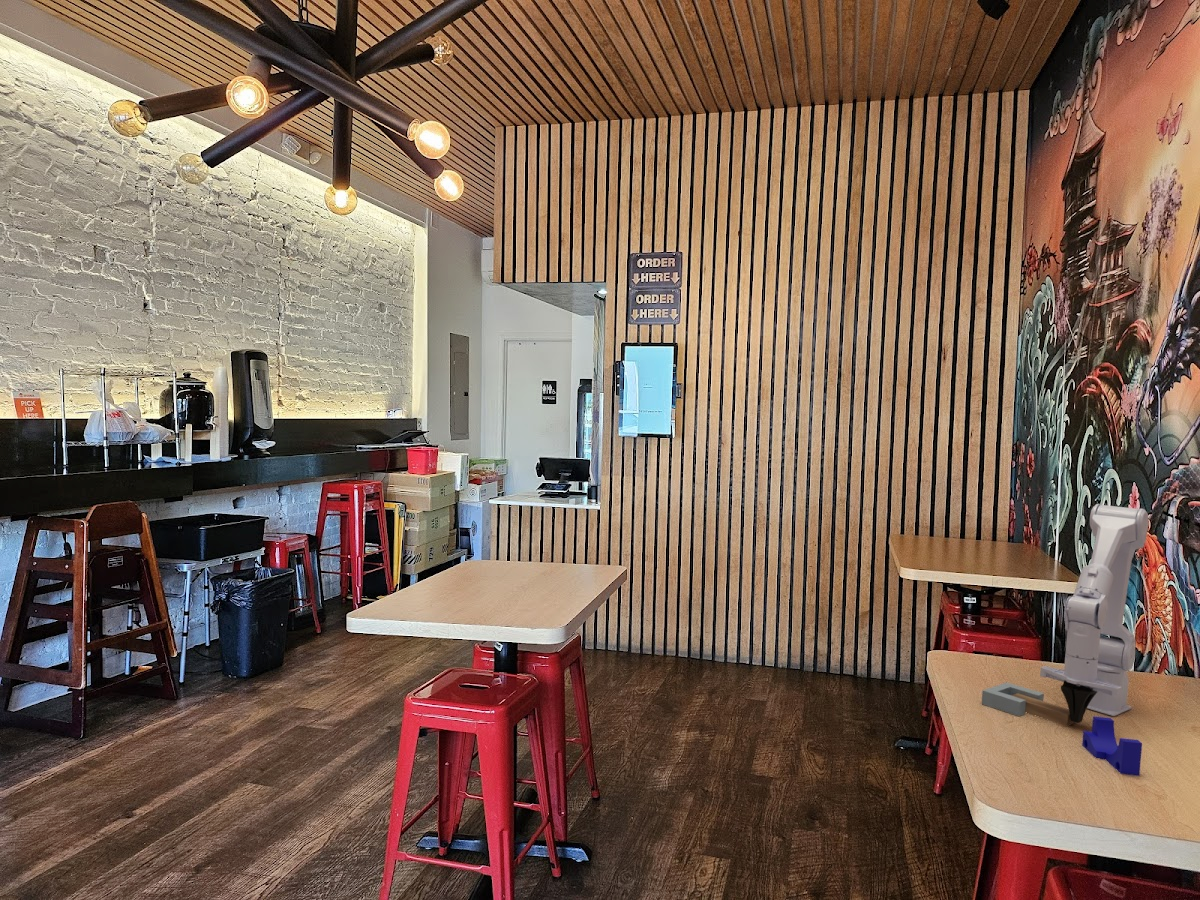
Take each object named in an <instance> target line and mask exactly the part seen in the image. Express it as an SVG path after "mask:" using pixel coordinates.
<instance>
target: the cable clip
mask: <svg viewBox="0 0 1200 900" xmlns="http://www.w3.org/2000/svg"><path fill="white" fill-rule="evenodd" d="M1091 724H1092V726H1091V731H1087V730H1082V731H1083V733H1082V741H1081V742H1082V743H1081V746H1082V747H1083V748H1084V749H1085V750H1086V751H1088V753H1090V754H1091V756H1093V757H1094V758H1095V757H1096V758H1100V759H1099V760H1105V759H1106V760H1107V761H1108V762H1109V765H1111V766H1112V767H1113V768H1114V769H1115V770H1116V769H1117V770H1118V771H1117V770H1116V771H1117V772H1118V773H1119V772H1120V773H1119V774H1121V775H1129V776H1138V777H1139V776H1140V772H1141V760H1142V759H1141V758H1142V749H1143V748H1142V747H1143V742H1141V741H1140V740H1139V739H1134V738H1133V739H1131V738H1124V737H1123V738H1122V737H1119V739H1118V743H1117V740H1116V737H1115V727H1114V725H1115V721H1114V720H1113V718H1112V717H1104V716H1096V715H1095V716H1094V715H1093V717H1092V723H1091ZM1096 758H1095V759H1096ZM1106 760H1105V761H1106ZM1107 761H1106V762H1107Z"/></svg>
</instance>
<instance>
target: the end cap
mask: <svg viewBox="0 0 1200 900" xmlns="http://www.w3.org/2000/svg"><path fill="white" fill-rule="evenodd" d="M1017 693H1018V694H1022V695H1025V696H1028V697H1031V698H1034V699H1038V700H1041V701H1044V696H1045V693H1043V692H1040V691H1037V690H1034V689H1030V688H1027V687H1024V686H1021V685H1018V684H1017V685H1016V684H1013V683H1010V682H1003V683H1001V684H998V685H995V686H992V687H988V688H986V689H982V691H981V705H983V706H985V707H989V708H993V709H995V708H996V709H995V710H998V709H999V711H1001V710H1002V711H1001V712H1004V711H1005V712H1004V713H1007V714H1010V713H1011V715H1014V716H1016V715H1017V716H1016V717H1022V716H1023V714H1024V715H1025V714H1026V713H1025V706H1026V700H1024V699H1021V698H1017V697H1014V696H1011V695H1014V694H1017ZM1021 715H1022V716H1021Z"/></svg>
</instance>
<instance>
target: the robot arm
mask: <svg viewBox="0 0 1200 900" xmlns="http://www.w3.org/2000/svg"><path fill="white" fill-rule="evenodd" d="M1089 526H1090V529H1091V533H1092V536H1093V537H1094V538H1095V540H1094V544H1093V545H1094V546H1093V549H1092V554H1091V559H1090V564H1088V565H1085V566H1083V567H1082V569H1081V571H1080V574H1079V578H1078V581H1077V584H1076V586H1075V588H1074V589H1075V590H1074V592H1073V595H1072V596H1070V595H1069V596H1068V597H1067V599H1066V601H1065V605H1064V614H1063V615H1064V620H1065V626H1064V629H1065V631H1066V641H1065V642H1066V643H1065V653H1064V654H1065V657H1064V668H1063V669H1060V668H1055V667H1051V666H1046V665H1044V666H1041V667H1040V673H1039V676H1040V677H1042V678H1045V679H1046V678H1049V679H1052V680H1055V681H1058V682H1059V681H1060V682H1063V684H1062V685H1060V690H1061V692H1062V695H1063V696H1064V699H1065V701H1066V705H1067V709H1069V712H1070V718H1071V721H1072V722H1075V723H1074V724H1080V723H1081V722H1083V719H1084V715H1085V713H1086V711H1087V709H1088V710H1092V711H1094V712H1098V713H1102V714H1103V715H1107V716H1108V715H1109V716H1112V717H1115V716H1118V715H1121V714H1123V713H1125V712H1126V711H1129V710H1131V709H1132V706H1131V705H1128V692H1129V675H1128V673H1127V672H1129V671H1130V670H1131V669H1132V668H1133V666H1134V664H1135V659H1136V636H1134V634H1133V633H1132V631H1130V630H1129V629H1128V628H1127V627H1126V626H1124V625H1123V623H1124V622H1123V621H1124V616H1125V615H1124V614H1125V608H1126V601H1127V596H1128V595H1127V594H1128V587H1129V581H1130V574H1131V568H1132V560H1133V558H1134V557H1133V556H1134V554H1135V551H1136V550H1139V549H1142V548H1143V549H1144V547H1145V543H1146V542H1147V534H1148V529H1149V514H1148V512H1147V511H1146V509H1145V508H1133V507H1123V506H1116V505H1115V506H1114V505H1106V504H1102V503H1101V504H1100V503H1096V504H1095V505H1094V506H1092V508H1091V510H1090V515H1089ZM1103 635H1106V636H1103ZM1107 636H1111V637H1115V638H1111V637H1107ZM1117 638H1120V639H1117ZM1121 639H1122V640H1121Z"/></svg>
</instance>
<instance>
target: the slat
mask: <svg viewBox="0 0 1200 900" xmlns="http://www.w3.org/2000/svg"><path fill="white" fill-rule="evenodd" d="M1011 696H1014V697H1017V698H1021V699H1024V700H1026V706H1025V712H1027V713H1026V714H1028V713H1029V715H1031V714H1033V715H1032V716H1034V715H1036V716H1035V717H1037V716H1039V717H1038V718H1040V717H1043V718H1045V719H1044V720H1047V719H1048V720H1047V721H1050V722H1052V723H1056V724H1059V725H1063V726H1065V727H1069V726H1070V725H1073V724H1076V723H1075V722H1072V721H1071V718H1070V712H1069V708H1068V707H1067V708H1066V707H1063V706H1060V705H1057V704H1053V703H1050V702H1047V701H1044V700H1043V701H1041V700H1038V699H1034V698H1031V697H1028V696H1025V695H1022V694H1018V693H1017V694H1014V695H1011ZM1043 718H1042V719H1043Z"/></svg>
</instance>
